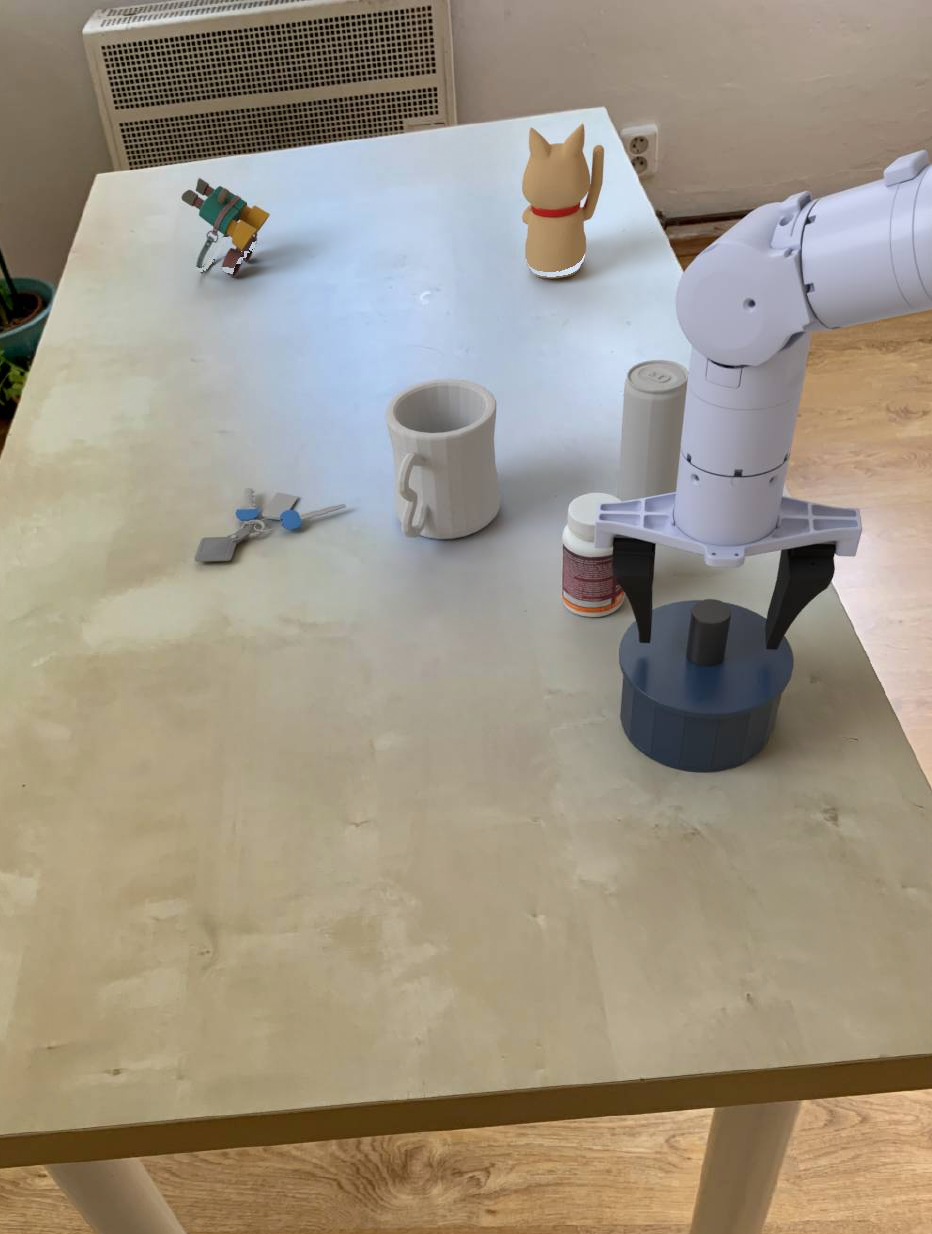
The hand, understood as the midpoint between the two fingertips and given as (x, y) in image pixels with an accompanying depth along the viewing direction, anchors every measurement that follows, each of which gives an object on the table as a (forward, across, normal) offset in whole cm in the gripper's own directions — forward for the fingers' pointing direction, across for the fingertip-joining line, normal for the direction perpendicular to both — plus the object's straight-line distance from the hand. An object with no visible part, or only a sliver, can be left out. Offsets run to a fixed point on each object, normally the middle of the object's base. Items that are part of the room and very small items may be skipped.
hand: (707, 635), depth 69 cm
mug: (+8, -21, +21) cm, 31 cm away
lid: (+2, 0, 0) cm, 2 cm away
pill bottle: (+8, -8, +12) cm, 16 cm away
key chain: (+8, -38, +20) cm, 43 cm away
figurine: (+8, -16, +69) cm, 72 cm away
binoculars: (+8, -54, +71) cm, 90 cm away
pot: (+8, 0, 0) cm, 8 cm away
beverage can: (+8, -4, +24) cm, 26 cm away
